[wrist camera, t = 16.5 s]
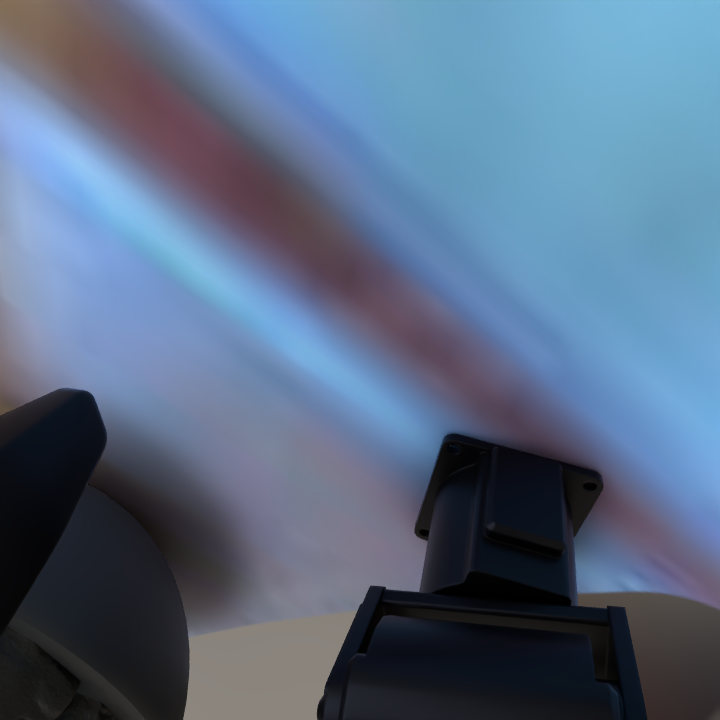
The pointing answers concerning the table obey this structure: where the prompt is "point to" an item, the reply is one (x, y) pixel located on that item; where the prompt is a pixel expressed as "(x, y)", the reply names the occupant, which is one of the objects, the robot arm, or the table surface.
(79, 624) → the bowl of black rocks
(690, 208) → the table surface
